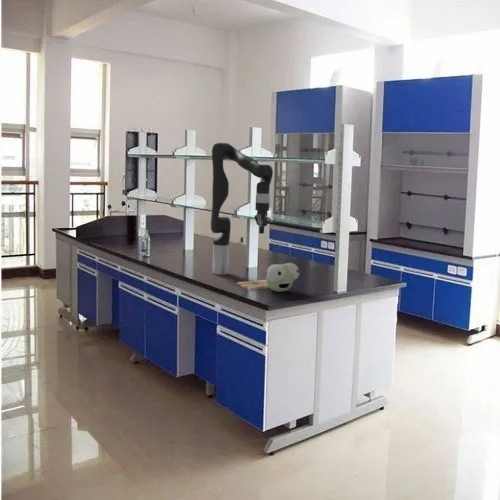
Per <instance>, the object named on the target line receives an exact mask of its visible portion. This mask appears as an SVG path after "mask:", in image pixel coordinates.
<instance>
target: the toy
mask: <svg viewBox="0 0 500 500" xmlns="http://www.w3.org/2000/svg"><path fill="white" fill-rule="evenodd" d="M265 274H266V275H265V280H266V282H267V284H268V286H269V287H270V288H269V289H270V290H272V291H273V292H277V293H284V292H285V291H288V290H289V289H290V288H291V286H292V285H293V284H294V281H296V279H298V277H299V276H300V270H299V267H298V266H297V265H296V264H295V263H292V262H286V263H283V264H282V263H280V264H277V263H275V264H271V265H270V266H269V267H268V268H267V270H266V273H265Z"/></svg>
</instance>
